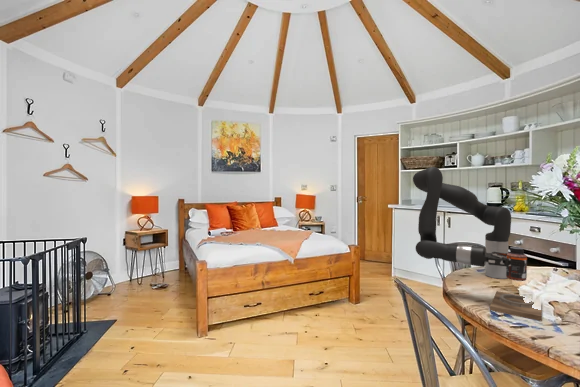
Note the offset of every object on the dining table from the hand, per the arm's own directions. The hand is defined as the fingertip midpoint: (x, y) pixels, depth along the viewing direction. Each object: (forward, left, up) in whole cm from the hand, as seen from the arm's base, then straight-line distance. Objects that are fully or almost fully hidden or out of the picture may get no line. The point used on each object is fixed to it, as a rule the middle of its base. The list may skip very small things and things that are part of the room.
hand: (525, 262), depth 110 cm
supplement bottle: (0, -3, -7) cm, 7 cm away
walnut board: (0, -2, -16) cm, 17 cm away
